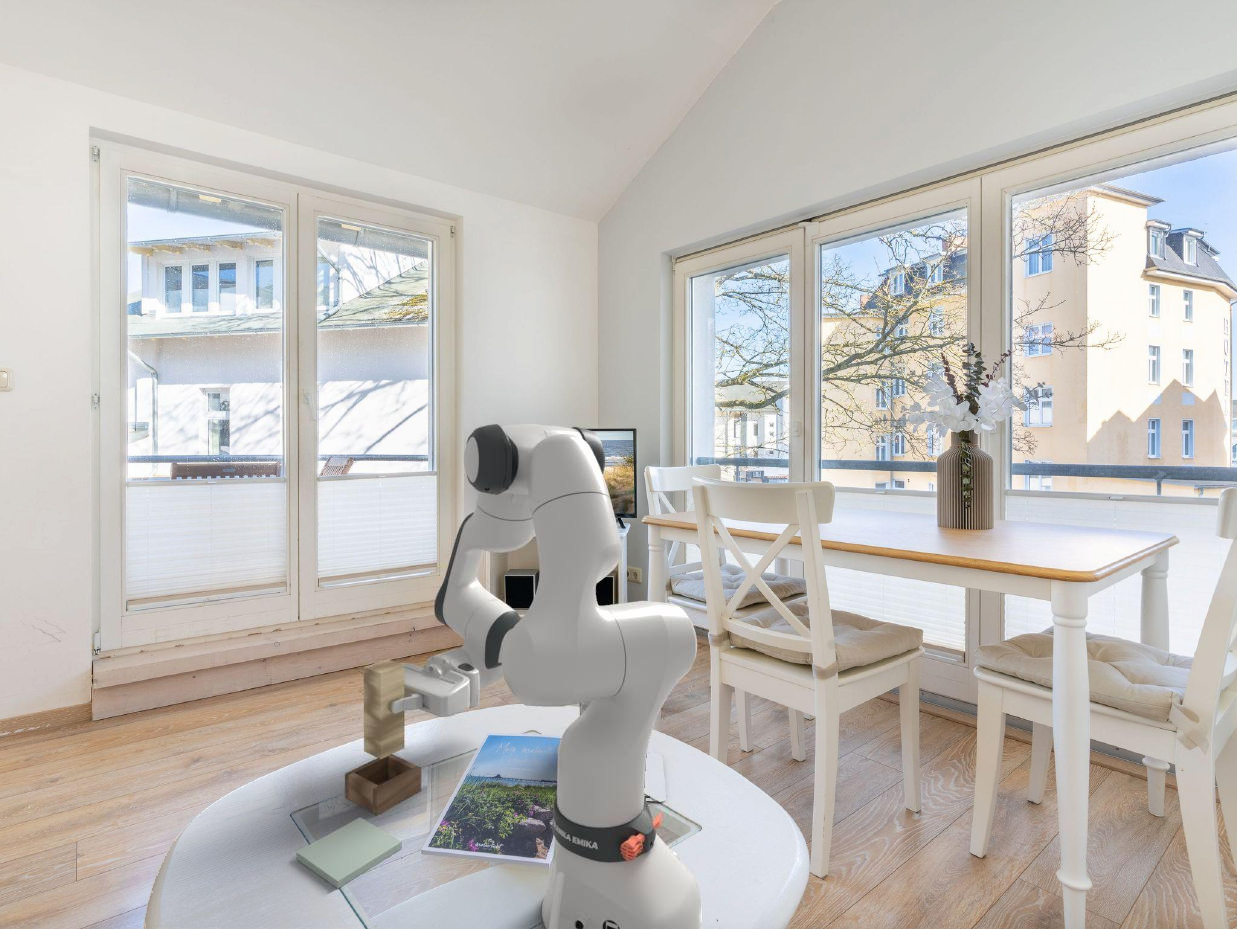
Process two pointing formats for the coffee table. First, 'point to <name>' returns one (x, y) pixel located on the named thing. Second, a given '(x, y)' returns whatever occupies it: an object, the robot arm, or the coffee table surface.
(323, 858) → the pad
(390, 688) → the oak block
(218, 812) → the coffee table surface
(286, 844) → the coffee table surface
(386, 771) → the pocket
